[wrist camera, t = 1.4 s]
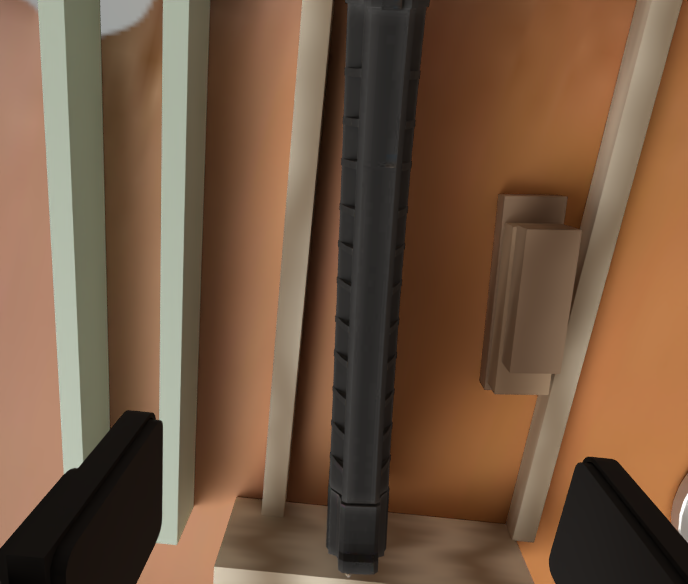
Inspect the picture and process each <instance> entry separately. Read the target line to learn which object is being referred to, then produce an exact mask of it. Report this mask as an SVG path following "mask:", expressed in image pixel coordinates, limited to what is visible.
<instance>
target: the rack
mask: <svg viewBox="0 0 688 584" xmlns="http://www.w3.org/2000/svg"><path fill="white" fill-rule="evenodd" d="M681 4H682V0H637V2H636V6H635V10H634V14H633V18H632V22H631V26H630V30H629V34H628V38H627V42H626V46H625V50H624V54H623V58H622V62H621V66H620V70H619V74H618V78H617V82H616V86H615V90H614V94H613V98H612V102H611V106H610V110H609V114H608V118H607V122H606V126H605V130H604V134H603V138H602V142H601V146H600V150H599V154H598V158H597V162H596V166H595V170H594V174H593V178H592V182H591V186H590V190H589V194H588V198H587V202H586V206H585V210H584V214H583V218H582V222H581V226H580V230H582V235H581V242H580V248H579V255H578V261H577V268H576V275H575V281H574V288H573V294H572V301H571V307H570V314H569V320H568V327H567V334H566V340H565V347H564V353H563V360H562V366H561V373H560V374H551V380H550V387H549V394H548V395H538V397H537V401H536V405H535V409H534V413H533V417H532V421H531V425H530V429H529V433H528V437H527V441H526V445H525V449H524V453H523V457H522V461H521V465H520V469H519V473H518V477H517V481H516V485H515V489H514V493H513V497H512V501H511V505H510V509H509V513H508V517H507V521H506V524H499V523H489V522H479V521H469V520H459V519H450V518H440V517H430V516H420V515H410V514H400V513H390V512H388V524H387V544H386V550H385V551H384V556H382V557H379V558H378V572H377V573H375V574H374V575H363V574H352V575H351V576H350V577H347V576H346V575H345V574H344V573H341V572H340V571H338V559H337V557H336V556H334V555H331V554H328V549H327V547H326V532H327V508H328V506H322V505H312V504H302V503H292V502H286V497H287V487H288V477H289V466H290V456H291V445H292V435H293V425H294V414H295V404H296V393H297V383H298V373H299V362H300V352H301V342H302V331H303V321H304V310H305V300H306V290H307V279H308V269H309V258H310V248H311V238H312V227H313V217H314V207H315V196H316V186H317V175H318V165H319V155H320V144H321V134H322V123H323V113H324V103H325V92H326V82H327V72H328V61H329V51H330V40H331V30H332V20H333V9H334V0H302V12H301V25H300V37H299V50H298V62H297V75H296V87H295V100H294V112H293V125H292V137H291V150H290V162H289V175H288V187H287V200H286V212H285V225H284V237H283V250H282V262H281V275H280V287H279V300H278V312H277V325H276V337H275V350H274V362H273V375H272V387H271V400H270V412H269V425H268V437H267V450H266V462H265V475H264V487H263V500H262V499H253V498H243V497H236V500H235V503H234V507H233V510H232V513H231V516H230V519H229V522H228V525H227V528H226V531H225V535H224V538H223V541H222V544H221V547H220V550H219V553H218V556H217V559H216V563H215V566H214V581H213V584H534V582H533V579H532V577H531V575H530V572H529V570H528V568H527V565H526V563H525V561H524V558H523V556H522V554H521V551H520V549H519V547H518V544H517V542H516V541H524V542H534V540H535V537H536V533H537V529H538V526H539V522H540V519H541V515H542V511H543V508H544V504H545V500H546V497H547V493H548V489H549V486H550V482H551V478H552V475H553V471H554V467H555V464H556V460H557V457H558V453H559V449H560V446H561V442H562V438H563V435H564V431H565V427H566V424H567V420H568V416H569V413H570V409H571V405H572V402H573V398H574V394H575V391H576V387H577V384H578V380H579V376H580V373H581V369H582V365H583V362H584V358H585V354H586V351H587V347H588V343H589V340H590V336H591V332H592V329H593V325H594V322H595V318H596V314H597V311H598V307H599V303H600V300H601V296H602V292H603V289H604V285H605V281H606V278H607V274H608V270H609V267H610V263H611V259H612V256H613V252H614V249H615V245H616V241H617V238H618V234H619V230H620V227H621V223H622V219H623V216H624V212H625V208H626V205H627V201H628V197H629V194H630V190H631V187H632V183H633V179H634V176H635V172H636V168H637V165H638V161H639V157H640V154H641V150H642V146H643V143H644V139H645V135H646V132H647V128H648V125H649V121H650V117H651V114H652V110H653V106H654V103H655V99H656V95H657V92H658V88H659V84H660V81H661V77H662V73H663V70H664V66H665V62H666V59H667V55H668V52H669V48H670V44H671V41H672V37H673V33H674V30H675V26H676V22H677V19H678V15H679V11H680V8H681Z"/></svg>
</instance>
